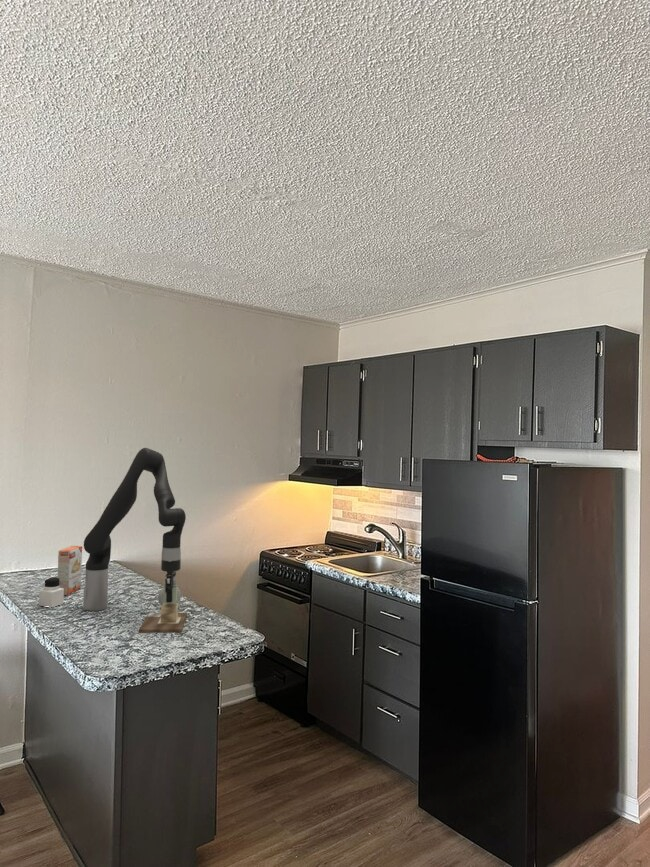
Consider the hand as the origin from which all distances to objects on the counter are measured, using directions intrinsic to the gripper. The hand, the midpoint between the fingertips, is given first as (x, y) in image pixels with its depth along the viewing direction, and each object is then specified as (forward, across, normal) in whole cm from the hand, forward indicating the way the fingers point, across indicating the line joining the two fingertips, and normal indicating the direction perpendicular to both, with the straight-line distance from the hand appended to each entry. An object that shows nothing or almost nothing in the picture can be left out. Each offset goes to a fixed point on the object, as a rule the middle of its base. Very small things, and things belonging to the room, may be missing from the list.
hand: (170, 600), depth 247 cm
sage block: (0, 0, 0) cm, 0 cm away
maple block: (+8, 0, 0) cm, 8 cm away
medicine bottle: (+10, -28, -54) cm, 62 cm away
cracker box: (+10, -51, -53) cm, 74 cm away
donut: (+10, -23, -3) cm, 25 cm away
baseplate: (+9, 0, -2) cm, 10 cm away
